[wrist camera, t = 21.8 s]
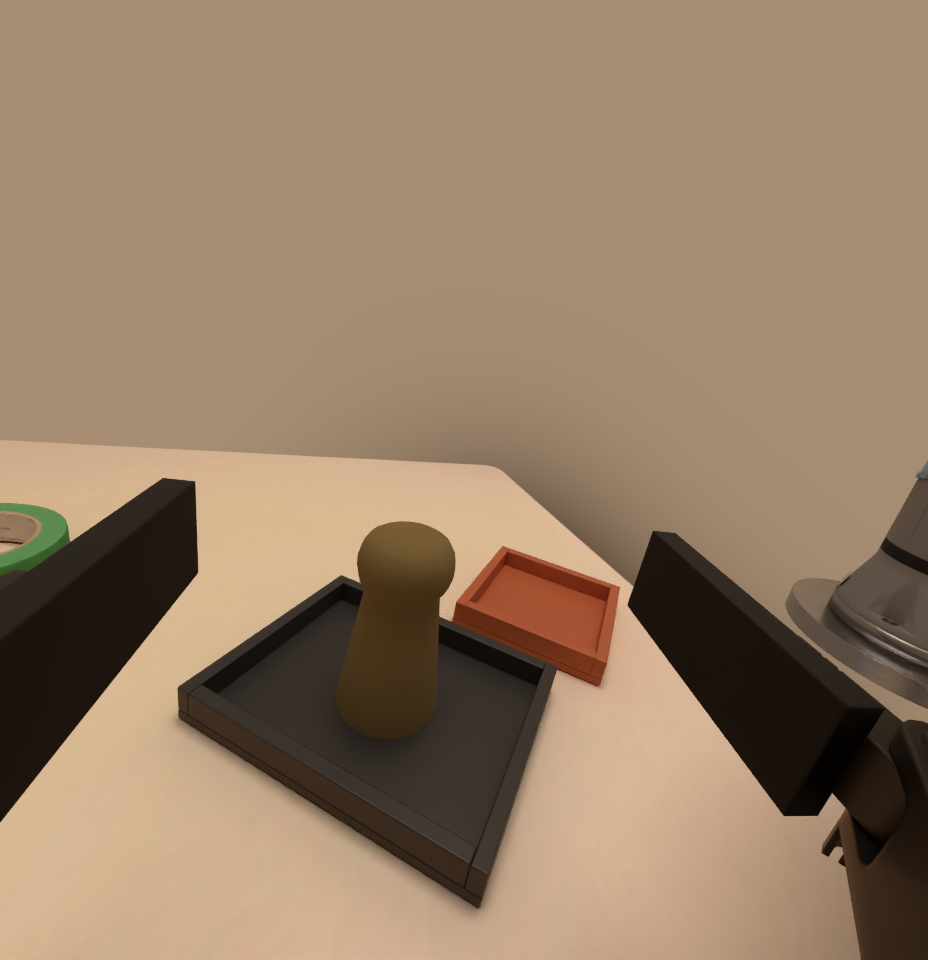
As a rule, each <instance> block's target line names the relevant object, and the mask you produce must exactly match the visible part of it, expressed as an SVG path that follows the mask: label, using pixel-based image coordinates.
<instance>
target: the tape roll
mask: <svg viewBox="0 0 928 960" xmlns="http://www.w3.org/2000/svg"><path fill="white" fill-rule="evenodd" d="M0 541H13V542H21V543H23V544H21V545H19V546H17V547H15V548H12V549H10V550H7V551H5V552H2V553H0V576H2V575H4V574H7V573H9V572H12V571H14V570H23V571H30V570H31V569H32V568H34V567H35V566H37V565H38V564H40V563H41V562H43V561H44V560H45V559H47V558H48V557H50V556H51V555H53V554H54V553H56V552H57V551H58V550H60V549H61V548H63V547H64V546H66V545H67V544H69V543H70V540H69V532H68V526H67V522H66V520H65V518H64V517H63V516H61V515H60V514H59V513H57V512H55V511H53V510H50V509H47V508H43V507H39V506H34V505H26V504H15V503H0Z"/></svg>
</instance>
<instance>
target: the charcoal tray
mask: <svg viewBox="0 0 928 960" xmlns="http://www.w3.org/2000/svg"><path fill="white" fill-rule="evenodd" d="M363 592H364V586H363V585H362V584H361V583H359V582H356V581H354V580H352V579H349V578H347V577H344V576H342V575H341V576H339V577H338V578H336V579H335V580H334V581H332V582H331V583H329V584H328V585H326V586H325V587H323V588H322V589H320V590H319V591H317V592H316V593H315V594H313V595H312V596H310V597H309V598H307V599H306V600H304V601H303V602H301V603H300V604H299V605H297V606H296V607H294V608H293V609H291V610H290V611H288V612H287V613H285V614H284V615H282V616H281V617H280V618H278V619H277V620H275V621H274V622H272V623H271V624H269V625H268V626H266V627H265V628H263V629H262V630H261V631H259V632H258V633H256V634H255V635H253V636H252V637H250V638H249V639H247V640H246V641H245V642H243V643H242V644H240V645H239V646H237V647H236V648H234V649H233V650H231V651H230V652H228V653H227V654H226V655H224V656H223V657H221V658H220V659H218V660H217V661H215V662H214V663H212V664H211V665H209V666H208V667H207V668H205V669H204V670H202V671H201V672H199V673H198V674H196V675H195V676H193V677H192V678H191V679H189V680H188V681H186V682H185V683H183V684H182V685H180V686H179V687H178V706H179V710H178V711H179V718H181V719H183V720H184V721H186V722H187V723H189V724H190V725H192V726H194V727H195V728H197V729H198V730H200V731H201V732H203V733H205V734H206V735H208V736H209V737H211V738H212V739H214V740H216V741H217V742H219V743H220V744H222V745H223V746H225V747H227V748H228V749H230V750H231V751H233V752H234V753H236V754H238V755H239V756H241V757H242V758H244V759H245V760H247V761H249V762H250V763H252V764H253V765H255V766H256V767H258V768H260V769H261V770H263V771H264V772H266V773H267V774H269V775H271V776H272V777H274V778H275V779H277V780H278V781H280V782H282V783H283V784H285V785H286V786H288V787H290V788H291V789H293V790H294V791H296V792H297V793H299V794H301V795H302V796H304V797H305V798H307V799H308V800H310V801H312V802H313V803H315V804H316V805H318V806H319V807H321V808H323V809H324V810H326V811H327V812H329V813H330V814H332V815H334V816H335V817H337V818H338V819H340V820H341V821H343V822H345V823H346V824H348V825H349V826H351V827H352V828H354V829H356V830H357V831H359V832H360V833H362V834H363V835H365V836H367V837H368V838H370V839H371V840H373V841H374V842H376V843H378V844H379V845H381V846H382V847H384V848H385V849H387V850H389V851H390V852H392V853H393V854H395V855H396V856H398V857H400V858H401V859H403V860H404V861H406V862H407V863H409V864H411V865H412V866H414V867H415V868H417V869H418V870H420V871H422V872H423V873H425V874H426V875H428V876H429V877H431V878H433V879H434V880H436V881H437V882H439V883H440V884H442V885H444V886H445V887H447V888H448V889H450V890H452V891H453V892H455V893H456V894H458V895H459V896H461V897H463V898H464V899H466V900H467V901H469V902H470V903H472V904H474V905H475V906H477V907H480V905H481V902H482V899H483V896H484V893H485V889H486V886H487V883H488V880H489V877H490V874H491V871H492V868H493V865H494V862H495V859H496V856H497V853H498V850H499V847H500V844H501V841H502V837H503V834H504V831H505V828H506V825H507V822H508V819H509V816H510V813H511V810H512V807H513V804H514V801H515V798H516V795H517V792H518V788H519V785H520V782H521V779H522V776H523V773H524V770H525V767H526V764H527V761H528V758H529V755H530V752H531V749H532V746H533V743H534V740H535V736H536V733H537V730H538V727H539V724H540V721H541V718H542V715H543V712H544V709H545V706H546V703H547V700H548V697H549V694H550V691H551V687H552V684H553V681H554V677H555V674H556V671H557V666H554V665H552V664H550V663H547V662H545V661H543V660H540V659H538V658H536V657H533V656H531V655H529V654H526V653H524V652H521V651H519V650H517V649H514V648H512V647H510V646H507V645H505V644H503V643H500V642H498V641H495V640H493V639H491V638H488V637H486V636H484V635H481V634H479V633H477V632H474V631H472V630H470V629H467V628H465V627H462V626H460V625H458V624H455V623H453V622H451V621H448V620H446V619H444V618H441V617H439V635H438V666H437V697H436V707H435V710H434V712H433V714H432V716H431V718H430V720H429V721H428V722H427V723H426V724H425V725H424V726H423V727H422V728H421V729H419V730H418V731H416V732H414V733H412V734H410V735H407V736H405V737H402V738H395V739H387V740H385V739H378V738H371V737H367V736H365V735H363V734H361V733H359V732H356V731H354V730H353V729H352V728H351V727H350V726H348V725H347V724H346V723H345V722H344V721H343V720H342V718H341V716H340V714H339V712H338V710H337V708H336V690H337V687H338V683H339V680H340V676H341V672H342V669H343V665H344V661H345V658H346V654H347V650H348V647H349V643H350V639H351V636H352V632H353V629H354V625H355V621H356V618H357V614H358V610H359V607H360V603H361V599H362V596H363Z"/></svg>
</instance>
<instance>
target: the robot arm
mask: <svg viewBox="0 0 928 960" xmlns="http://www.w3.org/2000/svg"><path fill="white" fill-rule="evenodd" d="M916 477H917V478H918V480H917V482H916V483H915V485H914V487H913V489H912V490H911V492H910V494H909V496H908V498H907V499H906V502H905V503H904V505H903V507H902V509H901V510H900V512H899V514H898V516H897V517H896V519H895V521H894V523H893V524H892V526H891V528H890V530H889V532H888V533H887V535H886V537H885V539H884V541H883V543H882V545H881V546H880V548H879V550H878V551H877V553H876V554H875V555H874V556H872V557H871V558H870V559H869V560H868V561H866V562H865V563H864V564H863V565H862V566H861V567H859V568H858V569H857V570H856V571H854V572H853V573H852V574H851V575H850V573H851V572H850V573H849V574H847V575H846V576H845V577H844V578H843V579H842V580H841V582H840V583H839V585H838V586H837V587H836V588H835V590H834V592H833V594H832V596H831V598H830V600H829V603H830V606H831V608H832V609H833V610H834V612H835V613H836V614H837V615H838V616H839V617H840V618H841V619H842V620H843V621H844V622H845V623H847V624H848V625H849V626H851V627H852V628H853V629H855V630H856V631H857V632H859V633H860V634H862V635H863V636H865V637H867V638H868V639H870V640H871V641H873V642H875V643H876V644H878V645H880V646H882V647H884V648H885V649H887V650H889V651H891V652H893V653H895V654H897V655H899V656H901V657H903V658H905V659H907V660H909V661H912V662H914V663H916V664H918V665H921V666H923V667H926V668H928V461H927V463H926V464H925V466H924V467H923V469H922V470H921V471H920V472H918V473H917V475H916ZM197 573H198V551H197V521H196V491H195V481H186V480H176V479H167V478H162V479H161V480H160V481H158V482H157V483H155V484H154V485H152V486H151V487H149V488H148V489H147V490H145V491H144V492H142V493H141V494H139V495H138V496H136V497H135V498H134V499H132V500H131V501H129V502H128V503H126V504H125V505H123V506H122V507H121V508H119V509H118V510H116V511H115V512H113V513H112V514H110V515H109V516H108V517H106V518H105V519H103V520H102V521H100V522H99V523H97V524H96V525H95V526H93V527H92V528H90V529H89V530H87V531H86V532H84V533H83V534H82V535H80V536H79V537H77V538H76V539H74V540H73V541H71V542H70V543H69V544H67V545H66V546H64V547H63V548H61V549H60V550H58V551H57V552H56V553H54V554H53V555H51V556H50V557H48V558H47V559H45V560H44V561H43V562H41V563H40V564H38V565H37V566H35V567H34V568H32V569H31V570H30V571H23V570H14V571H12V572H9V573H7V574H4V575H2V576H0V822H1V821H2V819H3V818H4V817H5V816H6V814H7V813H8V812H9V811H10V809H11V808H12V807H13V806H14V804H15V803H16V802H17V801H18V799H19V798H20V797H21V795H22V794H23V793H24V792H25V790H26V789H27V788H28V787H29V785H30V784H31V783H32V782H33V780H34V779H35V778H36V777H37V775H38V774H39V773H40V772H41V770H42V769H43V768H44V766H45V765H46V764H47V763H48V761H49V760H50V759H51V758H52V756H53V755H54V754H55V753H56V751H57V750H58V749H59V748H60V746H61V745H62V744H63V743H64V741H65V740H66V739H67V737H68V736H69V735H70V734H71V732H72V731H73V730H74V729H75V727H76V726H77V725H78V724H79V722H80V721H81V720H82V719H83V717H84V716H85V715H86V713H87V712H88V711H89V710H90V708H91V707H92V706H93V705H94V703H95V702H96V701H97V700H98V698H99V697H100V696H101V695H102V693H103V692H104V691H105V690H106V688H107V687H108V686H109V684H110V683H111V682H112V681H113V679H114V678H115V677H116V676H117V674H118V673H119V672H120V671H121V669H122V668H123V667H124V666H125V664H126V663H127V662H128V661H129V659H130V658H131V657H132V655H133V654H134V653H135V652H136V650H137V649H138V648H139V647H140V645H141V644H142V643H143V642H144V640H145V639H146V638H147V637H148V635H149V634H150V633H151V632H152V630H153V629H154V628H155V626H156V625H157V624H158V623H159V621H160V620H161V619H162V618H163V616H164V615H165V614H166V613H167V611H168V610H169V609H170V608H171V606H172V605H173V604H174V602H175V601H176V600H177V599H178V597H179V596H180V595H181V594H182V592H183V591H184V590H185V589H186V587H187V586H188V585H189V584H190V582H191V581H192V580H193V579H194V577H195V576H196V575H197ZM849 575H850V576H849ZM628 607H629V608H630V610H631V611H632V612H633V614H634V615H635V616H636V618H637V619H638V620H639V622H640V623H641V624H642V626H643V627H644V628H645V630H646V631H647V632H648V634H649V635H650V636H651V638H652V639H653V640H654V642H655V643H656V645H657V646H658V647H659V649H660V650H661V651H662V653H663V654H664V655H665V657H666V658H667V659H668V661H669V662H670V663H671V665H672V666H673V667H674V669H675V670H676V671H677V673H678V674H679V675H680V677H681V678H682V680H683V681H684V682H685V684H686V685H687V686H688V688H689V689H690V690H691V692H692V693H693V694H694V696H695V697H696V698H697V700H698V701H699V702H700V704H701V705H702V706H703V708H704V709H705V710H706V712H707V713H708V715H709V716H710V717H711V719H712V720H713V721H714V723H715V724H716V725H717V727H718V728H719V729H720V731H721V732H722V733H723V735H724V736H725V737H726V739H727V740H728V741H729V743H730V744H731V745H732V747H733V748H734V750H735V751H736V752H737V754H738V755H739V756H740V758H741V759H742V760H743V762H744V763H745V764H746V766H747V767H748V768H749V770H750V771H751V772H752V774H753V775H754V776H755V778H756V779H757V780H758V782H759V783H760V785H761V786H762V787H763V789H764V790H765V791H766V793H767V794H768V795H769V797H770V798H771V799H772V801H773V802H774V803H775V805H776V806H777V807H778V809H779V810H780V811H781V813H782V814H783V815H784V816H818V814H819V813H820V811H821V810H822V808H823V806H824V805H825V803H826V802H827V800H828V799H829V797H830V795H831V794H832V793H833V794H834V795H835V796H836V798H837V799H838V800H839V801H840V802H841V803H842V804H843V805H844V807H845V808H846V810H845V811H844V813H843V814H842V816H841V817H840V819H839V820H838V822H837V823H836V825H835V826H834V828H833V829H832V831H831V833H830V834H829V836H828V837H827V839H826V840H825V842H824V843H823V846H822V852H821V853H823V854H824V855H826V856H828V857H829V855H830V854H831V852H832V851H833V849H834V848H835V847H838V846H839V847H842V848H843V855H842V857H841V858H840V860H839V862H838V863H840V864H841V865H843V866H845V867H846V872H847V877H848V883H849V889H850V895H851V901H852V907H853V913H854V919H855V925H856V931H857V937H858V943H859V949H860V955H861V960H928V723H925V722H922V721H916V720H908V721H905V722H902V721H901V720H900V719H899V718H897V717H896V716H895V715H893V714H892V713H891V712H890V711H889V710H888V709H887V708H885V707H884V706H883V705H882V704H881V703H879V702H878V701H877V700H876V699H875V698H873V697H872V696H871V695H870V694H869V693H867V692H866V691H865V690H864V689H863V688H861V687H860V686H859V685H858V684H856V683H855V682H854V681H853V680H852V679H850V678H849V677H848V676H847V675H846V674H845V673H843V672H842V671H839V670H838V668H837V667H836V666H835V665H834V664H832V663H831V662H830V661H829V660H828V659H827V658H824V657H823V656H822V655H821V654H820V653H819V652H818V651H817V650H816V649H815V648H813V647H812V646H811V645H810V644H808V643H807V642H806V641H805V640H804V639H802V638H801V637H799V636H798V635H796V634H795V633H794V632H793V631H792V630H790V629H789V628H788V627H787V626H786V625H784V624H783V623H782V622H781V621H780V620H778V619H777V618H776V617H775V616H774V615H772V614H771V613H770V612H769V611H768V610H766V609H765V608H764V607H763V606H762V605H761V604H759V603H758V602H757V601H756V600H754V599H753V598H752V597H751V596H750V595H749V594H747V593H746V592H745V591H744V590H742V589H741V588H740V587H739V586H738V585H737V584H735V583H734V582H733V581H732V580H731V579H729V578H728V577H727V576H726V575H725V574H723V573H722V572H721V571H720V570H719V569H717V568H716V567H715V566H714V565H713V564H712V563H710V562H709V561H708V560H706V558H704V557H703V556H702V555H700V553H698V552H697V551H696V550H695V549H694V548H692V547H691V546H690V545H689V544H688V543H686V542H685V541H684V540H683V539H682V538H680V537H679V536H678V535H677V534H676V533H669V532H659V531H653V532H652V535H651V538H650V541H649V544H648V547H647V550H646V553H645V556H644V559H643V561H642V564H641V567H640V570H639V573H638V576H637V579H636V582H635V584H634V587H633V590H632V593H631V596H630V599H629V602H628Z"/></svg>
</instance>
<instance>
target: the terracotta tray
mask: <svg viewBox="0 0 928 960" xmlns="http://www.w3.org/2000/svg"><path fill="white" fill-rule="evenodd" d="M619 590H620V587H618V586H616V585H613V584H610V583H607V582H604V581H601V580H598V579H595V578H592V577H590V576H587V575H584V574H581V573H578V572H575V571H572V570H570V569H567V568H564V567H561V566H558V565H555V564H553V563H550V562H547V561H544V560H541V559H538V558H535V557H533V556H530V555H527V554H524V553H521V552H518V551H515V550H513V549H509V548H507V547H504V546H502V548H501V549H500V550H499V551H498V552H497V554H496V555H495V556H494V557H493V558H492V560H491V561H490V562H489V563H488V564H487V566H486V567H485V568H484V569H483V570H482V572H481V573H480V574H479V575H478V576H477V578H476V579H475V580H474V581H473V583H472V584H471V585H470V586H469V587H468V589H467V590H466V591H465V592H464V593H463V595H462V596H461V597H460V598H459V599H458V601H457V602H456V606H455V611H454V617H453V621H452V622H453V623H455V624H458V625H460V626H462V627H465V628H467V629H470V630H472V631H474V632H477V633H479V634H481V635H484V636H486V637H488V638H491V639H493V640H495V641H498V642H500V643H503V644H505V645H507V646H510V647H512V648H514V649H517V650H519V651H521V652H524V653H526V654H529V655H531V656H533V657H536V658H538V659H540V660H543V661H545V662H547V663H550V664H552V665H554V666H557V669H560V670H562V671H564V672H567V673H569V674H571V675H574V676H576V677H579V678H581V679H583V680H586V681H588V682H590V683H593V684H595V685H597V686H599V684H600V681H601V679H602V676H603V673H604V670H605V667H606V664H607V659H608V654H609V648H610V642H611V636H612V630H613V624H614V619H615V613H616V607H617V601H618V595H619Z"/></svg>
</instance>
